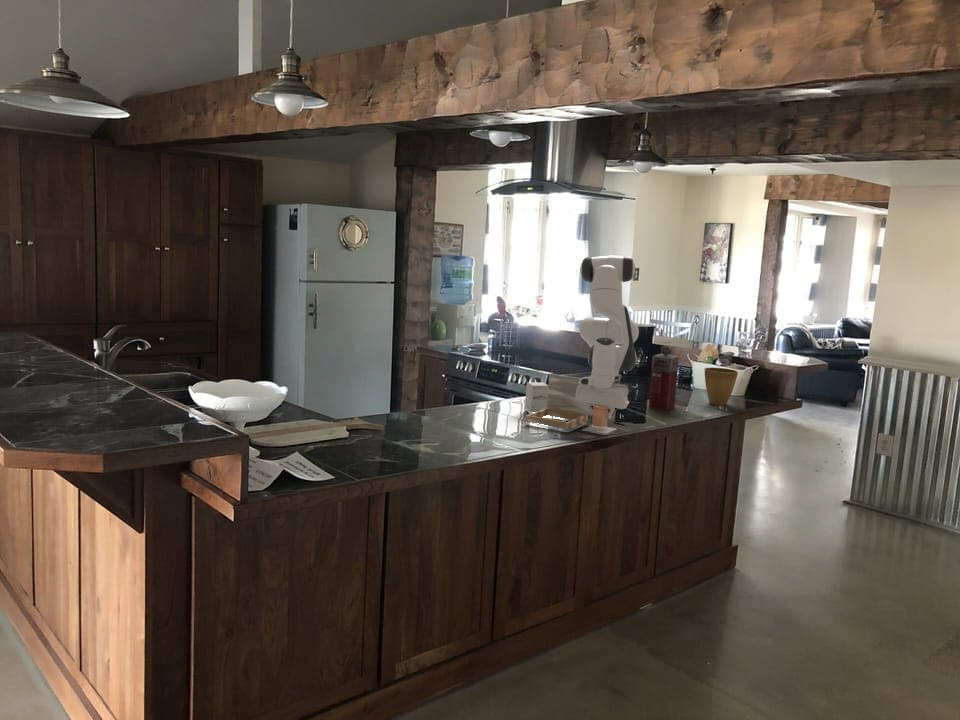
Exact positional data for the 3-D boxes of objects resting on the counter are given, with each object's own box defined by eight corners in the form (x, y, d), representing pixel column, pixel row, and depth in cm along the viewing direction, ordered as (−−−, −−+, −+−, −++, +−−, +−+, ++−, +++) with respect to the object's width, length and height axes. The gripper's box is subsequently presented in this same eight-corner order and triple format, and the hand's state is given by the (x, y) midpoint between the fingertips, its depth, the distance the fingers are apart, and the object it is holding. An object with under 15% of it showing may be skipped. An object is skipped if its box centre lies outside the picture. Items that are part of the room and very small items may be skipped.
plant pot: (739, 408, 353) (742, 373, 350) (706, 406, 353) (709, 371, 350) (729, 401, 367) (732, 367, 365) (697, 399, 368) (700, 366, 365)
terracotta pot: (595, 422, 301) (596, 402, 300) (610, 424, 298) (611, 404, 296) (588, 425, 296) (590, 404, 294) (603, 427, 292) (605, 407, 291)
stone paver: (592, 426, 304) (592, 424, 304) (616, 431, 299) (616, 428, 299) (581, 431, 295) (581, 429, 295) (606, 435, 290) (606, 433, 290)
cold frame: (547, 417, 317) (550, 373, 314) (588, 424, 308) (591, 379, 305) (525, 425, 301) (528, 379, 298) (567, 433, 292) (570, 386, 289)
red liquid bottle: (646, 408, 343) (651, 345, 339) (655, 404, 353) (660, 343, 348) (665, 411, 339) (670, 347, 334) (674, 407, 348) (679, 345, 344)
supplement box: (530, 415, 319) (532, 385, 317) (524, 411, 326) (526, 381, 324) (547, 415, 321) (549, 385, 319) (541, 411, 328) (542, 381, 326)
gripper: (631, 383, 291) (628, 419, 294) (581, 376, 302) (579, 411, 304) (625, 386, 286) (622, 422, 288) (574, 379, 297) (572, 414, 299)
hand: (600, 417), depth 296 cm, fingers closed on terracotta pot, 6 cm apart
